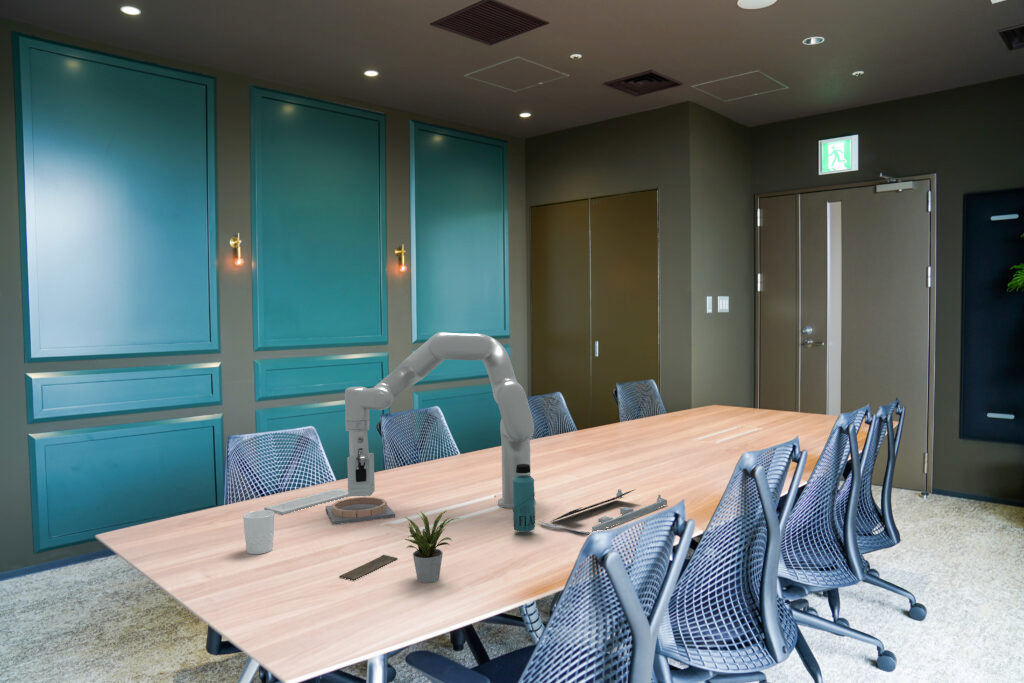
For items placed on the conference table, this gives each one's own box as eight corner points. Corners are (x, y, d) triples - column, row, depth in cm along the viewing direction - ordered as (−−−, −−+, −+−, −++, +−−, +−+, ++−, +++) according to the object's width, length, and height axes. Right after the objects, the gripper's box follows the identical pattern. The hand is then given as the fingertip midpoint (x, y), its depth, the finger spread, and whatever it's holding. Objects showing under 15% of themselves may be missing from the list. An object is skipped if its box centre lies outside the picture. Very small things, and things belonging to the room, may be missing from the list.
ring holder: (395, 517, 215) (394, 507, 215) (333, 524, 208) (333, 514, 208) (383, 502, 233) (382, 493, 233) (325, 509, 226) (325, 500, 225)
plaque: (282, 512, 219) (264, 507, 225) (282, 516, 220) (264, 511, 225) (356, 491, 244) (337, 488, 250) (356, 496, 244) (338, 492, 250)
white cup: (265, 543, 191) (264, 508, 191) (280, 549, 186) (279, 513, 186) (238, 551, 185) (237, 514, 185) (254, 557, 180) (253, 519, 180)
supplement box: (375, 490, 224) (374, 452, 223) (370, 496, 216) (369, 457, 216) (352, 490, 224) (352, 452, 223) (347, 496, 216) (346, 457, 216)
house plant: (464, 566, 171) (463, 501, 170) (462, 588, 157) (461, 517, 156) (407, 568, 170) (405, 503, 170) (400, 590, 156) (398, 519, 156)
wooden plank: (354, 578, 162) (338, 573, 165) (354, 583, 162) (338, 578, 165) (398, 557, 177) (382, 553, 179) (397, 562, 177) (382, 558, 179)
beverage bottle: (516, 538, 192) (515, 467, 192) (510, 531, 199) (509, 463, 198) (538, 535, 194) (537, 466, 193) (531, 529, 200) (530, 461, 200)
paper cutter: (666, 506, 223) (666, 490, 223) (582, 540, 191) (582, 520, 191) (621, 497, 236) (620, 481, 236) (534, 527, 204) (534, 508, 203)
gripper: (374, 428, 213) (375, 483, 213) (364, 420, 229) (365, 471, 229) (349, 430, 210) (350, 485, 210) (341, 422, 226) (342, 474, 227)
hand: (358, 478), depth 220 cm, fingers closed on supplement box, 9 cm apart
